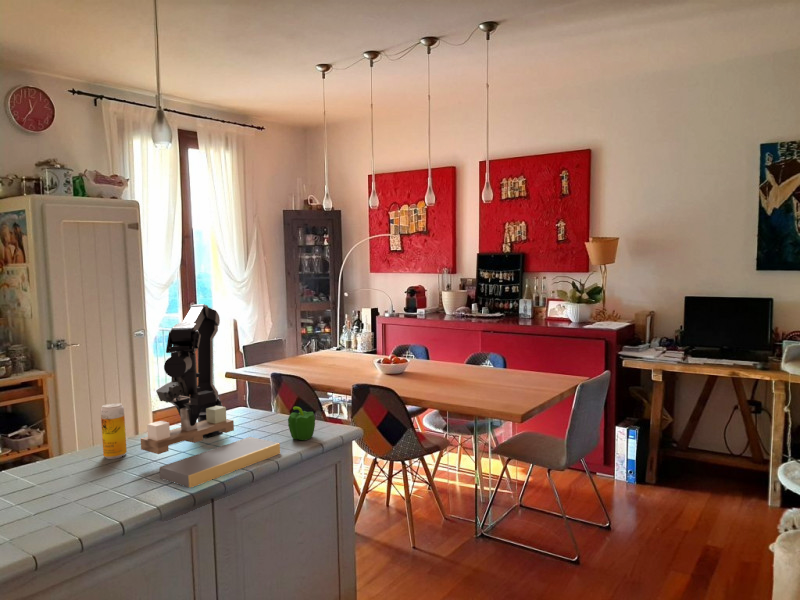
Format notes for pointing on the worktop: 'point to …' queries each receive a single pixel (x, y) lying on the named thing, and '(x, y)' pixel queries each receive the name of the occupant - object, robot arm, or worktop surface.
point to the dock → (219, 461)
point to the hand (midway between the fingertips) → (188, 424)
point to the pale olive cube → (216, 414)
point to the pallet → (186, 433)
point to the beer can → (113, 430)
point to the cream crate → (158, 430)
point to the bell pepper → (301, 424)
